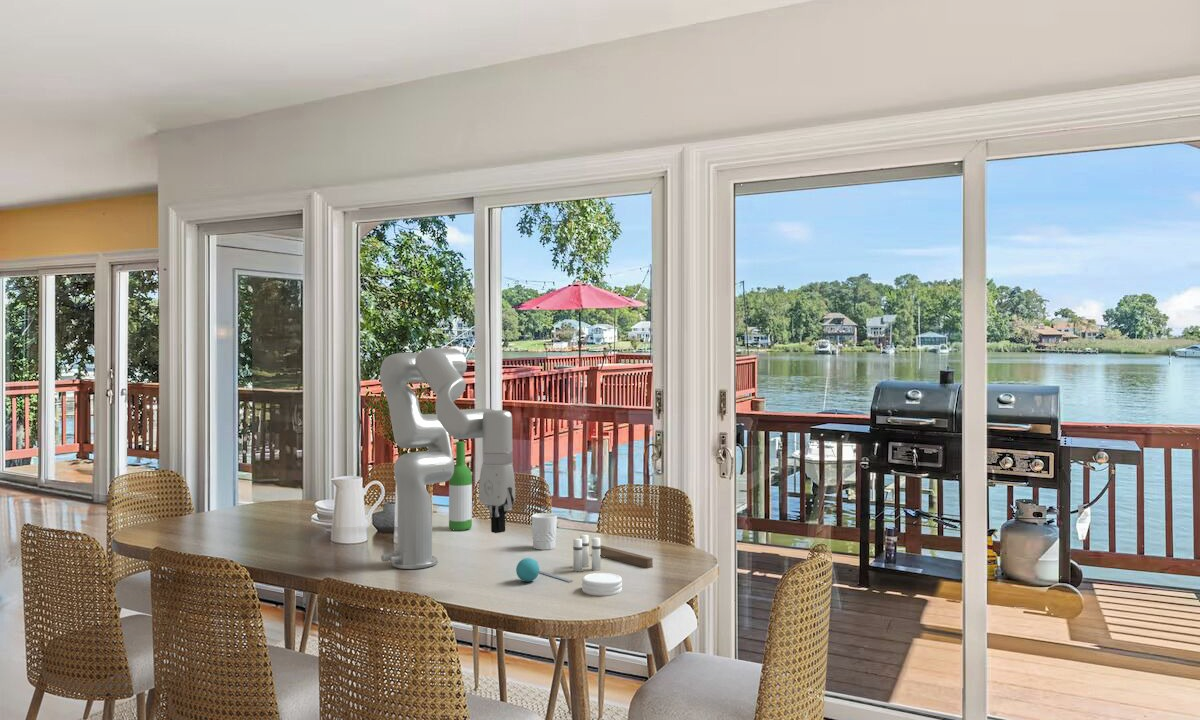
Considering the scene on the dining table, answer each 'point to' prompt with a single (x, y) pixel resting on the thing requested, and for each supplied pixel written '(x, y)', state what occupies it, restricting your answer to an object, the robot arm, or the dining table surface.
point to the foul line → (555, 576)
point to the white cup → (544, 530)
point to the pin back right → (596, 553)
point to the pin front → (577, 554)
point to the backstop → (626, 557)
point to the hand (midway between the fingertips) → (498, 531)
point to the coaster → (602, 584)
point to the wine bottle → (460, 492)
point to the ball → (527, 569)
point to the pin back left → (585, 550)
